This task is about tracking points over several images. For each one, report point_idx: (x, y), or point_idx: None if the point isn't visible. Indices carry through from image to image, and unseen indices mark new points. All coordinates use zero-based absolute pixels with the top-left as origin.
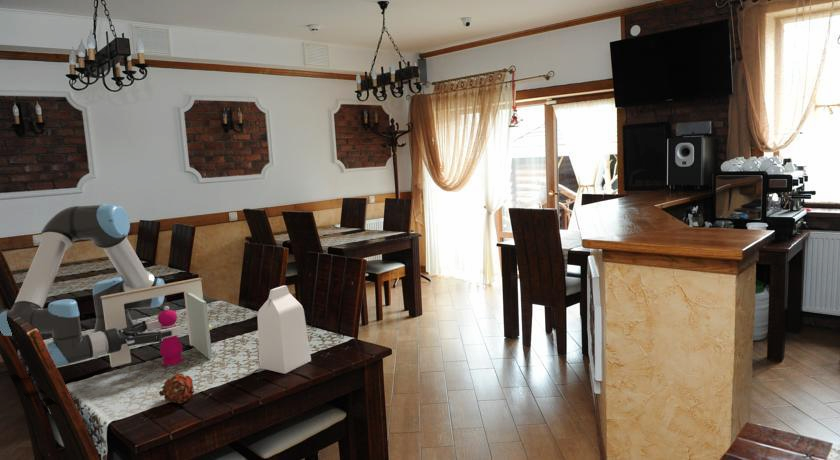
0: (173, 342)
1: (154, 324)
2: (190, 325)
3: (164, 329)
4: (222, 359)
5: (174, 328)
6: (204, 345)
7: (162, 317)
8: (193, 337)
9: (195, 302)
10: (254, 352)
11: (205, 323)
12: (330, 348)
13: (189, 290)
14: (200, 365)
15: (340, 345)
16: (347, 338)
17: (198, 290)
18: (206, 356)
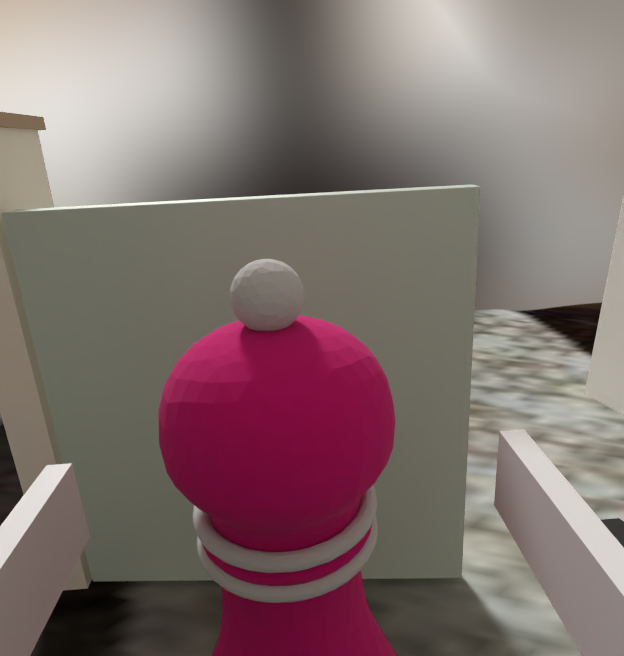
0: (382, 639)
1: (9, 606)
2: (77, 461)
3: (596, 551)
4: (492, 535)
5: (558, 477)
6: (392, 518)
7: (357, 419)
8: (136, 526)
9: (263, 238)
10: (473, 438)
11: (470, 356)
12: (571, 336)
13: (4, 198)
14: (541, 649)
15: (556, 324)
16: (502, 312)
17: (42, 205)
18: (412, 576)
